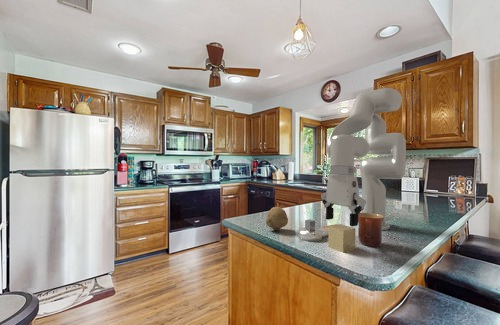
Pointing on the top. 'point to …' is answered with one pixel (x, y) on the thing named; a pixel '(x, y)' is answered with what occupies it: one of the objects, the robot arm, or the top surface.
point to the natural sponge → (276, 218)
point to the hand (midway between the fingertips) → (341, 222)
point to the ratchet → (312, 231)
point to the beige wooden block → (341, 237)
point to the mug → (370, 229)
